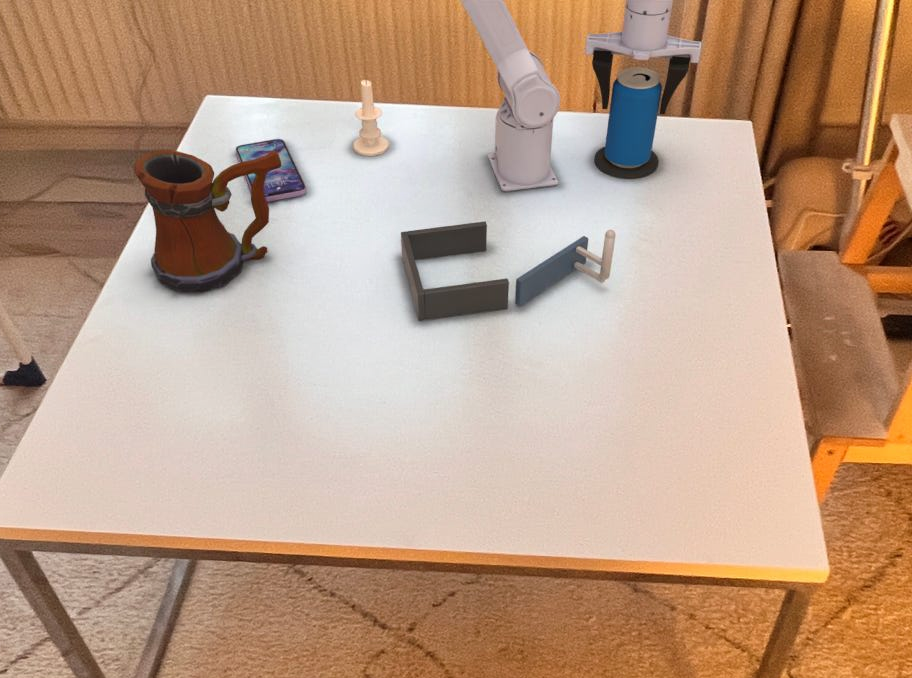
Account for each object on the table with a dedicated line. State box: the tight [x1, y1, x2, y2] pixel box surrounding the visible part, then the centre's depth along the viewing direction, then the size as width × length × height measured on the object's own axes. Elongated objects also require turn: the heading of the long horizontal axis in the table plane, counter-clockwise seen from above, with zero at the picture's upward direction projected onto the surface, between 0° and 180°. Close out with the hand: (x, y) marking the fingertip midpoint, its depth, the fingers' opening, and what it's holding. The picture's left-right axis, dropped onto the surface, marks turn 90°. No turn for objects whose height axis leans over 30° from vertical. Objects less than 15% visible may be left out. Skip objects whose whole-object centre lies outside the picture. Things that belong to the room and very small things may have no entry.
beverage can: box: [604, 66, 663, 168], centre depth 127 cm, size 6×6×12 cm
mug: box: [132, 150, 282, 293], centre depth 112 cm, size 18×12×15 cm, turn 102°
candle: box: [352, 79, 390, 157], centre depth 132 cm, size 5×5×10 cm
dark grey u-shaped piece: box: [400, 221, 510, 322], centre depth 113 cm, size 11×13×4 cm
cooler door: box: [514, 229, 617, 307], centre depth 109 cm, size 6×12×8 cm, turn 133°
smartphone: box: [235, 138, 307, 203], centre depth 131 cm, size 7×1×15 cm
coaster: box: [593, 146, 659, 180], centre depth 132 cm, size 9×9×1 cm
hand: (633, 108), depth 126 cm, fingers open, 7 cm apart
